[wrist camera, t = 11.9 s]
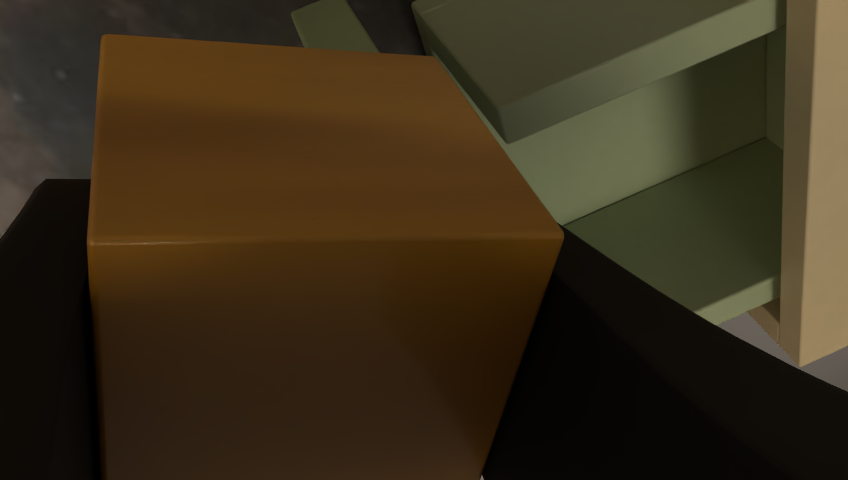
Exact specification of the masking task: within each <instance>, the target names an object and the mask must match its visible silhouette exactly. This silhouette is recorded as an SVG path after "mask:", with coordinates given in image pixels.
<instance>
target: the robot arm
mask: <svg viewBox="0 0 848 480" xmlns="http://www.w3.org/2000/svg"><path fill="white" fill-rule="evenodd" d="M90 187H91V179H46V180H45V181H43V182H42V183H41V184H40V185H39V186H37V187H36V188H35V190H34V191H33V193H32V194H31V196H30V198H29V199H28V201H27V202H26V204H25V205H24V207H23V208H22V210H21V211H20V213H19V214H18V215H17V217H16V218H15V220H14V221H13V222H12V224H11V225H10V226H9V228H8V229H7V231H6V232H5V233H4V234H3V236H2V237H1V238H0V480H101V479H100V462H99V445H98V428H97V411H96V394H95V377H94V359H93V342H92V325H91V308H90V291H89V274H88V256H87V230H88V216H89V201H90ZM558 225H559V226H560V228H561V229H562V230H563V233H564V240H563V243H562V246H561V249H560V252H559V254H558V257H557V260H556V263H555V266H554V269H553V272H552V274H551V277H550V280H549V283H548V286H547V289H546V292H545V295H544V297H543V300H542V303H541V306H540V309H539V312H538V315H537V318H536V320H535V323H534V326H533V329H532V332H531V335H530V338H529V340H528V343H527V346H526V349H525V352H524V355H523V358H522V361H521V363H520V366H519V369H518V372H517V375H516V378H515V381H514V383H513V386H512V389H511V392H510V395H509V398H508V401H507V404H506V406H505V409H504V412H503V415H502V418H501V421H500V424H499V427H498V429H497V432H496V435H495V438H494V441H493V444H492V447H491V449H490V452H489V455H488V458H487V461H486V464H485V467H484V470H483V472H482V476H483V478H484V480H848V392H847V391H845V390H842V389H840V388H838V387H836V386H833V385H831V384H829V383H827V382H825V381H823V380H820V379H818V378H816V377H814V376H812V375H810V374H808V373H806V372H804V371H801V370H799V369H797V368H795V367H793V366H791V365H789V364H787V363H785V362H784V361H782V360H780V359H778V358H776V357H774V356H772V355H770V354H768V353H766V352H764V351H762V350H760V349H758V348H757V347H755V346H753V345H751V344H749V343H747V342H745V341H743V340H741V339H739V338H738V337H735V336H734V335H732V334H730V333H728V332H727V331H725V330H723V329H721V328H720V327H718V326H716V325H714V324H713V323H711V322H709V321H707V320H706V319H704V318H702V317H701V316H699V315H697V314H696V313H694V312H693V311H691V310H689V309H688V308H686V307H684V306H683V305H681V304H679V303H678V302H676V301H675V300H673V299H671V298H670V297H668V296H666V295H665V294H663V293H662V292H660V291H658V290H657V289H655V288H654V287H652V286H651V285H649V284H647V283H646V282H644V281H643V280H641V279H640V278H638V277H637V276H635V275H634V274H632V273H631V272H629V271H628V270H626V269H625V268H623V267H622V266H620V265H619V264H617V263H616V262H614V261H613V260H611V259H610V258H608V257H607V256H605V255H604V254H602V253H601V252H599V251H598V250H597V249H595V248H594V247H592V246H591V245H589V244H588V243H586V242H585V241H583V240H582V239H581V238H579V237H578V236H576V235H575V234H573V233H572V232H570V231H569V230H568V229H566V228H565V227H563V226H562V225H560V224H559V223H558Z"/></svg>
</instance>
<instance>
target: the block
mask: <svg viewBox="0 0 848 480" xmlns="http://www.w3.org/2000/svg"><path fill="white" fill-rule="evenodd" d="M563 240H564V233H563V230H562V229H561V228H560V226H559V225H558V223H557V222H556V221H555V219H554V218H553V217H552V215H551V214H550V212H549V211H548V210H547V208H546V207H545V206H544V204H543V203H542V202H541V200H540V199H539V197H538V196H537V195H536V193H535V192H534V191H533V189H532V188H531V187H530V185H529V184H528V182H527V181H526V180H525V178H524V177H523V176H522V174H521V173H520V171H519V170H518V169H517V167H516V166H515V165H514V163H513V162H512V161H511V159H510V158H509V156H508V155H507V154H506V152H505V151H504V150H503V148H502V147H501V145H500V144H499V143H498V141H497V140H496V139H495V137H494V136H493V135H492V133H491V132H490V130H489V129H488V128H487V126H486V125H485V124H484V122H483V121H482V119H481V118H480V117H479V115H478V114H477V113H476V111H475V110H474V109H473V107H472V106H471V104H470V103H469V102H468V100H467V99H466V98H465V96H464V95H463V93H462V92H461V91H460V89H459V88H458V87H457V85H456V84H455V83H454V81H453V80H452V78H451V77H450V76H449V74H448V73H447V72H446V70H445V69H444V67H443V66H442V65H441V63H440V62H439V61H438V59H437V58H435V57H433V56H418V55H404V54H390V53H375V52H361V51H346V50H332V49H317V48H303V47H289V46H274V45H260V44H245V43H231V42H217V41H202V40H188V39H173V38H159V37H144V36H130V35H116V34H105V35H103V36H102V38H101V44H100V58H99V72H98V87H97V101H96V115H95V130H94V144H93V158H92V173H91V187H90V201H89V216H88V230H87V256H88V274H89V291H90V308H91V325H92V342H93V359H94V377H95V394H96V411H97V428H98V445H99V462H100V479H101V480H480V478H481V475H482V472H483V470H484V467H485V464H486V461H487V458H488V455H489V452H490V449H491V447H492V444H493V441H494V438H495V435H496V432H497V429H498V427H499V424H500V421H501V418H502V415H503V412H504V409H505V406H506V404H507V401H508V398H509V395H510V392H511V389H512V386H513V383H514V381H515V378H516V375H517V372H518V369H519V366H520V363H521V361H522V358H523V355H524V352H525V349H526V346H527V343H528V340H529V338H530V335H531V332H532V329H533V326H534V323H535V320H536V318H537V315H538V312H539V309H540V306H541V303H542V300H543V297H544V295H545V292H546V289H547V286H548V283H549V280H550V277H551V274H552V272H553V269H554V266H555V263H556V260H557V257H558V254H559V252H560V249H561V246H562V243H563Z"/></svg>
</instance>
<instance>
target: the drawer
mask: <svg viewBox="0 0 848 480" xmlns="http://www.w3.org/2000/svg"><path fill="white" fill-rule="evenodd" d="M411 7H412V11H413V14H414V17H415V20H416V23H417V27H418V30H419V33H420V36H421V39H422V43H423V46H424V49H425V52H426V55H427V56H433V57H435V58H437V59H438V61H439V62H440V63H441V65H442V66H443V67H444V69H445V70H446V72H447V73H448V74H449V76H450V77H451V78H452V80H453V81H454V83H455V84H456V85H457V87H458V88H459V89H460V91H461V92H462V93H463V95H464V96H465V98H466V99H467V100H468V102H469V103H470V104H471V106H472V107H473V109H474V110H475V111H476V113H477V114H478V115H479V117H480V118H481V119H482V121H483V122H484V124H485V125H486V126H487V128H488V129H489V130H490V132H491V133H492V135H493V136H494V137H495V139H496V140H497V141H498V143H499V144H500V145H501V147H502V148H503V150H504V151H505V152H506V154H507V155H508V156H509V158H510V159H511V161H512V162H513V163H514V165H515V166H516V167H517V169H518V170H519V171H520V173H521V174H522V176H523V177H524V178H525V180H526V181H527V182H528V184H529V185H530V187H531V188H532V189H533V191H534V192H535V193H536V195H537V196H538V197H539V199H540V200H541V202H542V203H543V204H544V206H545V207H546V208H547V210H548V211H549V212H550V214H551V215H552V217H553V218H554V219H555V221H556V222H557V223H559V224H560V225H562V226H563V227H565V228H566V229H568V230H569V231H570V232H572V233H573V234H575V235H576V236H578V237H579V238H581V239H582V240H583V241H585V242H586V243H588V244H589V245H591V246H592V247H594V248H595V249H597V250H598V251H599V252H601V253H602V254H604V255H605V256H607V257H608V258H610V259H611V260H613V261H614V262H616V263H617V264H619V265H620V266H622V267H623V268H625V269H626V270H628V271H629V272H631V273H632V274H634V275H635V276H637V277H638V278H640V279H641V280H643V281H644V282H646V283H647V284H649V285H651V286H652V287H654V288H655V289H657V290H658V291H660V292H662V293H663V294H665V295H666V296H668V297H670V298H671V299H673V300H675V301H676V302H678V303H679V304H681V305H683V306H684V307H686V308H688V309H689V310H691V311H693V312H694V313H696V314H697V315H699V316H701V317H702V318H704V319H706V320H707V321H709V322H711V323H713V324H714V325H718V324H720V323H723V322H725V321H727V320H729V319H732V318H734V317H736V316H738V315H740V314H743V313H745V312H747V311H749V310H752V309H754V308H756V307H758V306H761V305H763V304H765V303H767V302H769V301H772V300H774V299H776V298H778V297H780V291H781V245H782V200H783V154H784V109H785V64H786V18H787V0H416V1H414V2H412V3H411ZM291 17H292V20H293V22H294V24H295V27H296V29H297V32H298V34H299V36H300V39H301V41H302V43H303V46H304V48H317V49H332V50H346V51H361V52H375V53H380V52H379V51H378V49H377V47H376V46H375V44H374V43H373V41H372V40H371V38H370V37H369V35H368V33H367V32H366V30H365V29H364V27H363V26H362V24H361V23H360V21H359V20H358V18H357V16H356V15H355V13H354V12H353V10H352V9H351V7H350V6H349V4H348V3H347V1H346V0H319V1H317V2H315V3H312V4H310V5H307V6H305V7H302V8H300V9H298V10H295V11H293V12H292V13H291Z"/></svg>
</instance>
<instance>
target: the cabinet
mask: <svg viewBox="0 0 848 480" xmlns="http://www.w3.org/2000/svg"><path fill="white" fill-rule="evenodd" d="M747 312H748V313H749V314H750V315H751V316H752V317H753V318H754V320H755V321H757V323H758V324H759V325H760V326H761V327H762V328H763V329H764V330H765V331H766V332H767V333H768V334H769V335H770V336H771V337H772V338H773V340H774V341H776V343H777V344H779V345H780V347H781V348H782V349H783V350H784V351H785V352H786V353H787V354H788V355H789V356H790V358H791V359H792V360H793V361H794V362H795V363H796V364H797V365H798V366H799V367H802V366H804V365H807V364H809V363H811V362H813V361H815V360H817V359H820V358H822V357H824V356H826V355H828V354H831V353H833V352H835V351H837V350H839V349H842V348H844V347H846V346H848V0H787V18H786V64H785V109H784V154H783V200H782V245H781V291H780V297H778V298H776V299H774V300H772V301H769V302H767V303H765V304H763V305H761V306H758V307H756V308H754V309H752V310H749V311H747Z"/></svg>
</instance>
